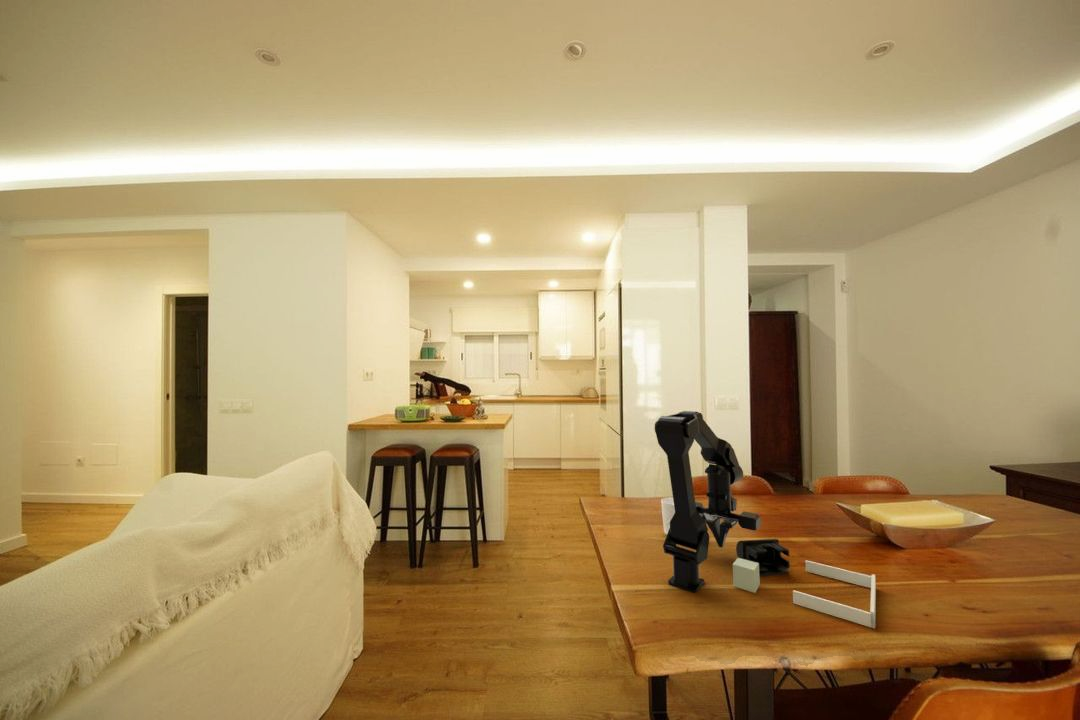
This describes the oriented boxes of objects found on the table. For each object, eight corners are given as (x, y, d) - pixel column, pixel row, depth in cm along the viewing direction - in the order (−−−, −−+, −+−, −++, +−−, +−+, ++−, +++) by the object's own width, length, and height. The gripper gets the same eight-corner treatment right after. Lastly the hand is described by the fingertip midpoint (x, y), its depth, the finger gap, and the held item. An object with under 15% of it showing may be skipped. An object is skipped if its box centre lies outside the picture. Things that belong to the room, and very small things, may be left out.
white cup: (684, 540, 116) (683, 506, 116) (658, 534, 120) (657, 501, 121) (691, 532, 122) (690, 500, 122) (667, 526, 127) (666, 495, 127)
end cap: (771, 561, 102) (770, 534, 102) (791, 574, 95) (790, 545, 95) (736, 563, 101) (735, 536, 101) (754, 576, 94) (753, 548, 94)
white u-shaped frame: (875, 628, 73) (874, 612, 74) (793, 603, 82) (792, 588, 82) (875, 588, 88) (875, 574, 88) (806, 570, 97) (805, 558, 97)
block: (755, 593, 86) (754, 570, 87) (733, 586, 89) (732, 564, 90) (759, 585, 90) (758, 563, 90) (738, 579, 93) (737, 557, 93)
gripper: (764, 488, 106) (766, 546, 105) (694, 477, 118) (696, 530, 117) (754, 497, 97) (756, 561, 96) (680, 485, 109) (682, 541, 109)
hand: (721, 547), depth 105 cm, fingers closed
